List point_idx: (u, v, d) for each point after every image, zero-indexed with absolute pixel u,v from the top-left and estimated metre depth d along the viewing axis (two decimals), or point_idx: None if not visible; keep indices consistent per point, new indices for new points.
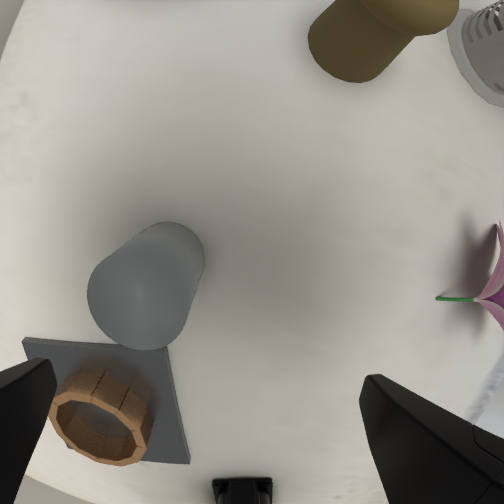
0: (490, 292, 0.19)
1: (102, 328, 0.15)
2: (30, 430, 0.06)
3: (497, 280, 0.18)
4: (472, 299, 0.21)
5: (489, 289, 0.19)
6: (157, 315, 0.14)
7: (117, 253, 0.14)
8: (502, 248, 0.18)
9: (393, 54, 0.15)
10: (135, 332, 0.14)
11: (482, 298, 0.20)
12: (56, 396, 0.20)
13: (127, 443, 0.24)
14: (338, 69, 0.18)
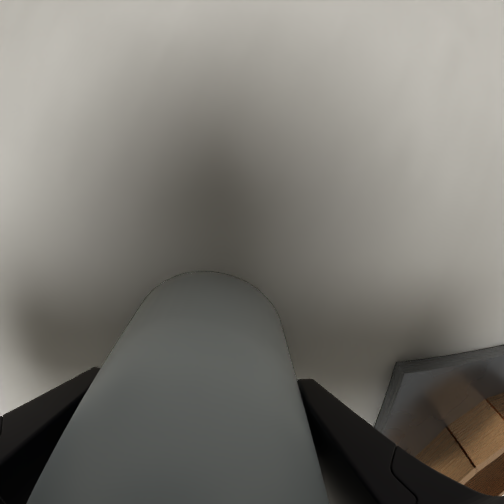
0: None
1: None
2: None
3: None
4: None
5: None
6: None
7: None
8: None
9: None
10: None
11: None
12: None
13: None
14: None
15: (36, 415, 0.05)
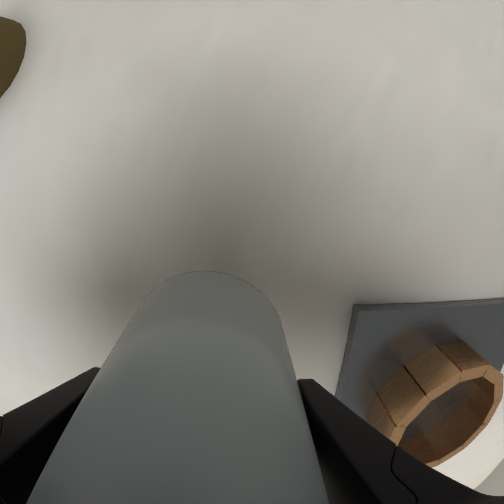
0: None
1: None
2: None
3: None
4: None
5: None
6: None
7: None
8: None
9: None
10: None
11: None
12: None
13: (478, 379, 0.17)
14: (3, 70, 0.11)
15: (36, 415, 0.05)
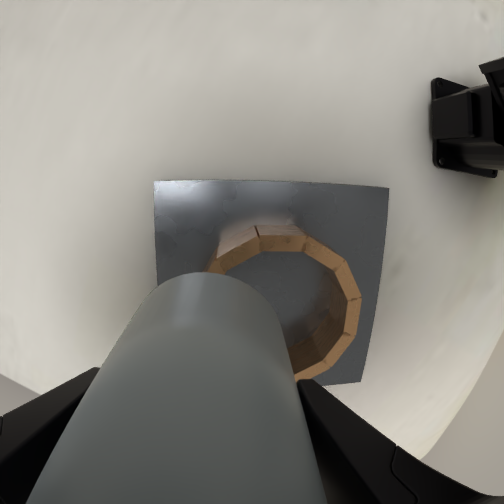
0: None
1: None
2: None
3: None
4: None
5: None
6: None
7: None
8: None
9: None
10: None
11: None
12: None
13: (331, 277, 0.19)
14: None
15: (36, 415, 0.05)
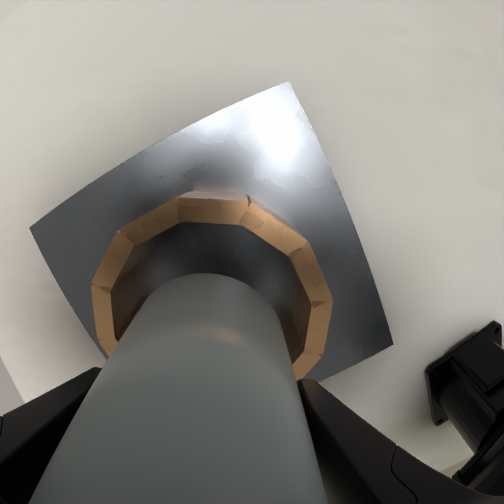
0: None
1: None
2: None
3: None
4: None
5: None
6: None
7: None
8: None
9: None
10: None
11: None
12: (101, 264, 0.11)
13: None
14: None
15: (36, 415, 0.05)
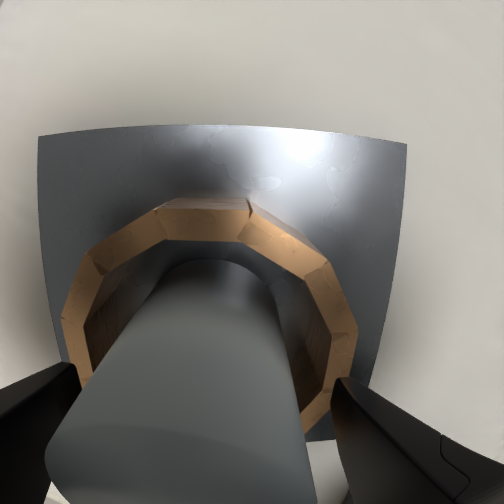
0: None
1: None
2: None
3: None
4: None
5: None
6: (200, 490, 0.04)
7: None
8: None
9: None
10: None
11: None
12: (110, 236, 0.08)
13: None
14: None
15: (0, 403, 0.05)
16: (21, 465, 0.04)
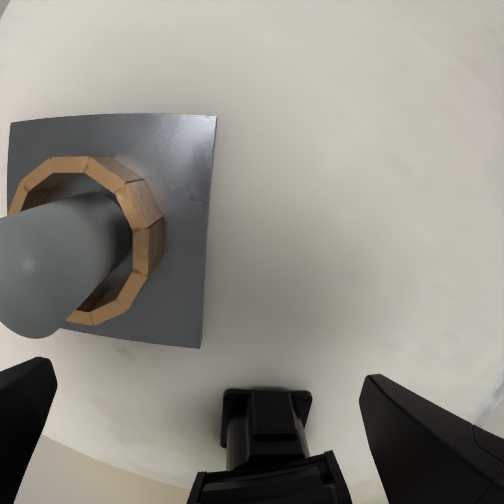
0: None
1: (51, 333, 0.11)
2: (30, 430, 0.06)
3: None
4: None
5: None
6: (23, 257, 0.10)
7: None
8: None
9: None
10: (46, 292, 0.10)
11: None
12: (32, 172, 0.14)
13: (111, 292, 0.18)
14: None
15: None
16: None
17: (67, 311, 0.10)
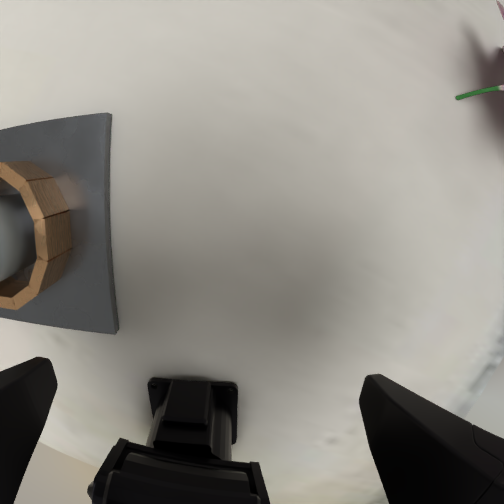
0: None
1: None
2: (30, 430, 0.06)
3: None
4: (497, 87, 0.14)
5: None
6: None
7: None
8: None
9: None
10: None
11: None
12: None
13: None
14: None
15: None
16: None
17: None
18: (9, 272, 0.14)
